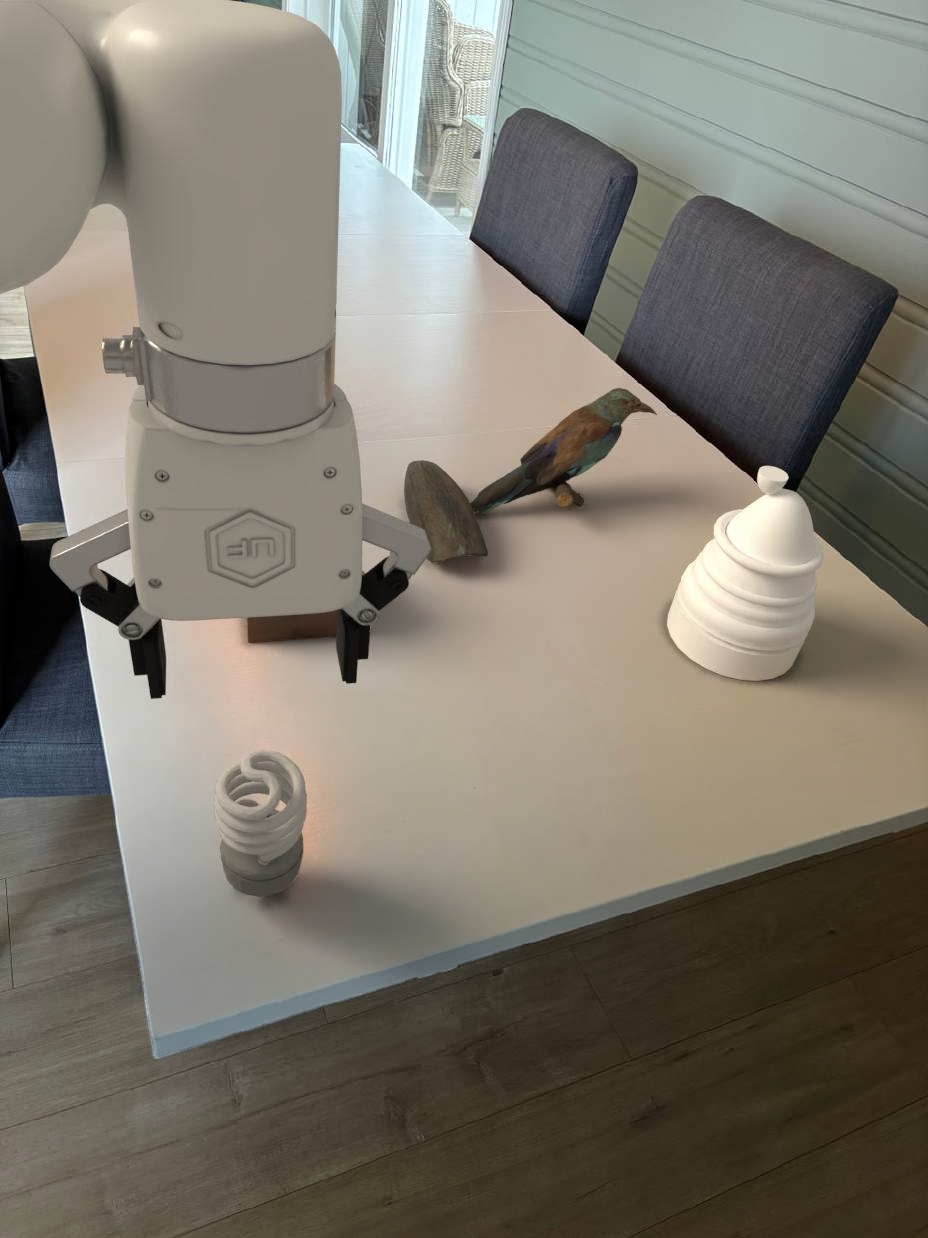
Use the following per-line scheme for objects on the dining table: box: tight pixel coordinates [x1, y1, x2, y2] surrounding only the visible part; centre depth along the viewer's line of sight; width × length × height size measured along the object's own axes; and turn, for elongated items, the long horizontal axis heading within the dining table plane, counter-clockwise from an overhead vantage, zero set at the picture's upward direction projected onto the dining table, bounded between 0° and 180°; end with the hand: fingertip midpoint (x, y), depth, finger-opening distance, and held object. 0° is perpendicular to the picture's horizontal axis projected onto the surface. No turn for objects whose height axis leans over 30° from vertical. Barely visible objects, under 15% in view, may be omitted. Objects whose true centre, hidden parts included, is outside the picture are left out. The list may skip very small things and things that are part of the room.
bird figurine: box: [469, 387, 658, 516], centre depth 101 cm, size 13×10×20 cm
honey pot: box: [666, 465, 825, 682], centre depth 85 cm, size 13×13×18 cm
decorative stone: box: [403, 459, 489, 564], centre depth 97 cm, size 17×6×4 cm, turn 18°
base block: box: [245, 610, 337, 643], centre depth 84 cm, size 9×9×4 cm
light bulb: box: [213, 749, 308, 898], centre depth 59 cm, size 6×6×12 cm
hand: (254, 672), depth 48 cm, fingers open, 9 cm apart
